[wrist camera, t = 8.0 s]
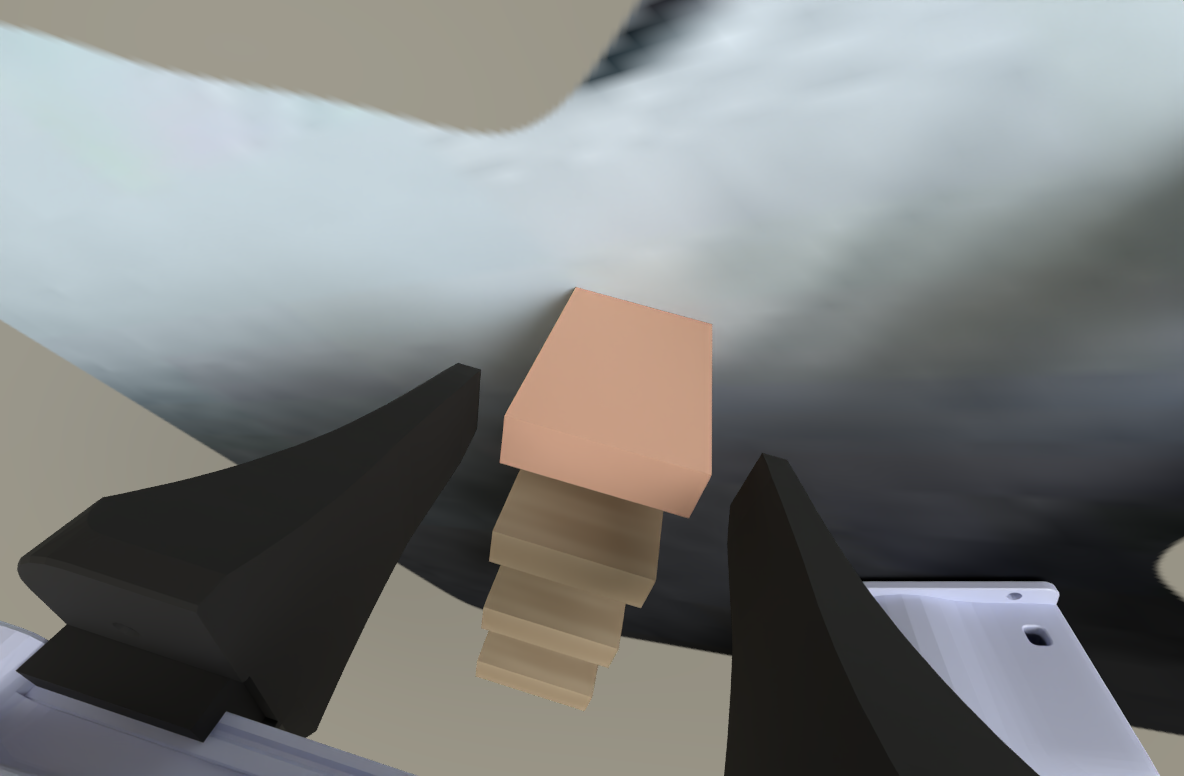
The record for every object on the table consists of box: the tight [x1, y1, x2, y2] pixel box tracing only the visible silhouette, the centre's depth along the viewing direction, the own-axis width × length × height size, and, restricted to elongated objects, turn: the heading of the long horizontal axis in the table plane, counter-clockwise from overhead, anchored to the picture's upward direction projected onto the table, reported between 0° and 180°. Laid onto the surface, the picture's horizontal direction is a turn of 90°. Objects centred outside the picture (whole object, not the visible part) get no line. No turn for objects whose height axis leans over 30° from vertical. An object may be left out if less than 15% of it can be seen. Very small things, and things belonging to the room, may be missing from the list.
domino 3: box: [476, 631, 598, 711], centre depth 22 cm, size 2×5×7 cm, turn 79°
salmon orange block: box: [500, 287, 712, 518], centre depth 14 cm, size 2×5×7 cm, turn 79°
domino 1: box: [489, 469, 663, 608], centre depth 17 cm, size 2×5×7 cm, turn 79°
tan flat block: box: [481, 565, 626, 668], centre depth 19 cm, size 2×5×7 cm, turn 79°
